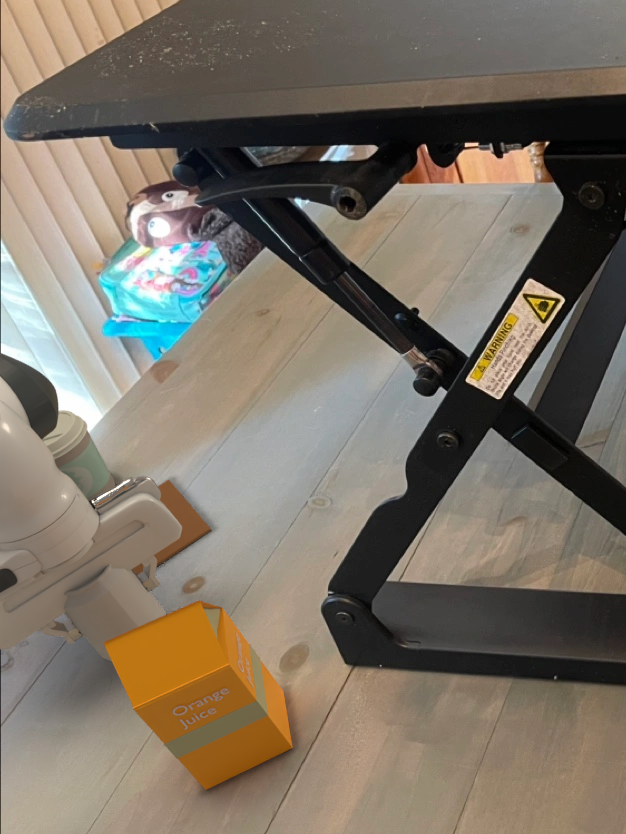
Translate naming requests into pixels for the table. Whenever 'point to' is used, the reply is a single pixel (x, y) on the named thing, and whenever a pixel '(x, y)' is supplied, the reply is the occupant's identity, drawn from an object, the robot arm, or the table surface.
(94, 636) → the can
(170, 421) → the table surface
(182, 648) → the orange juice
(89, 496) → the coffee cup
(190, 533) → the mat
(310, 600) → the table surface
